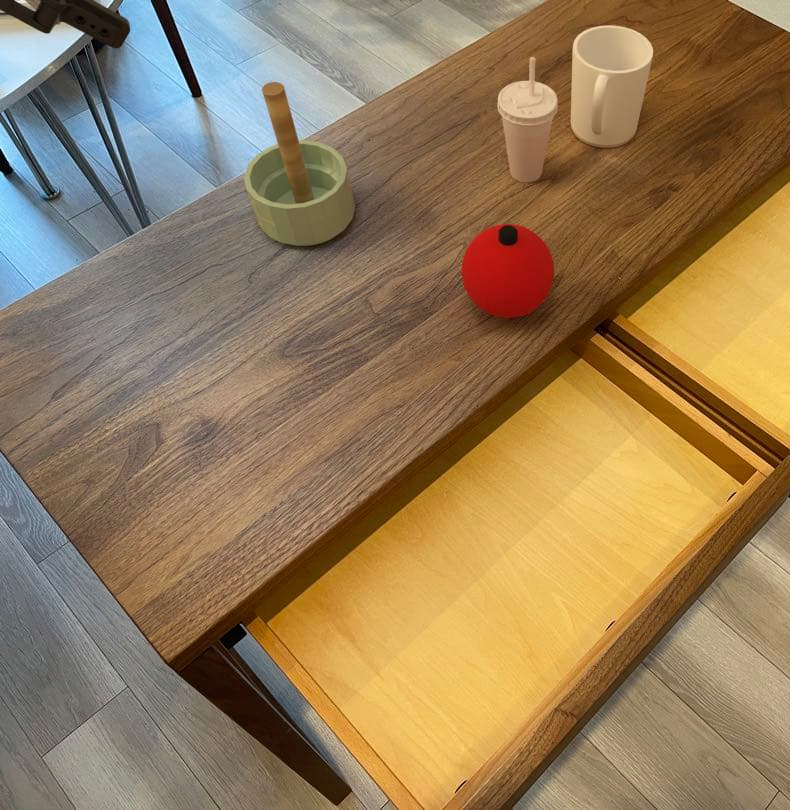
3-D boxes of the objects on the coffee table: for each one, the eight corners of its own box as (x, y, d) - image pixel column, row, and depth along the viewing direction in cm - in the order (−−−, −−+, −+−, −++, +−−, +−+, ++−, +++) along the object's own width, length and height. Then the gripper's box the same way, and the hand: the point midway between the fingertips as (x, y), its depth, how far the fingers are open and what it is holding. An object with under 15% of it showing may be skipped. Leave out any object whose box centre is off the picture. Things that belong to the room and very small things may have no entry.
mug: (576, 97, 98) (583, 19, 89) (646, 112, 97) (660, 34, 88) (553, 153, 92) (559, 74, 83) (627, 169, 91) (640, 91, 82)
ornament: (566, 287, 81) (573, 215, 72) (527, 349, 76) (530, 280, 68) (489, 257, 83) (487, 184, 74) (447, 316, 78) (440, 244, 70)
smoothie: (565, 171, 90) (573, 61, 78) (526, 198, 88) (530, 89, 76) (524, 145, 92) (527, 34, 81) (486, 171, 90) (483, 60, 78)
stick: (318, 215, 84) (285, 92, 71) (300, 219, 83) (263, 96, 71) (315, 202, 85) (282, 80, 72) (296, 206, 84) (260, 83, 72)
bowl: (267, 260, 81) (252, 217, 76) (253, 194, 86) (237, 150, 81) (364, 239, 83) (355, 196, 78) (345, 176, 89) (335, 132, 83)
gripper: (-156, -162, 41) (154, 16, 53) (-129, -260, 48) (138, -83, 60) (-197, -45, 44) (104, 98, 56) (-165, -153, 51) (95, -5, 64)
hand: (121, 4), depth 58 cm, fingers open, 8 cm apart
